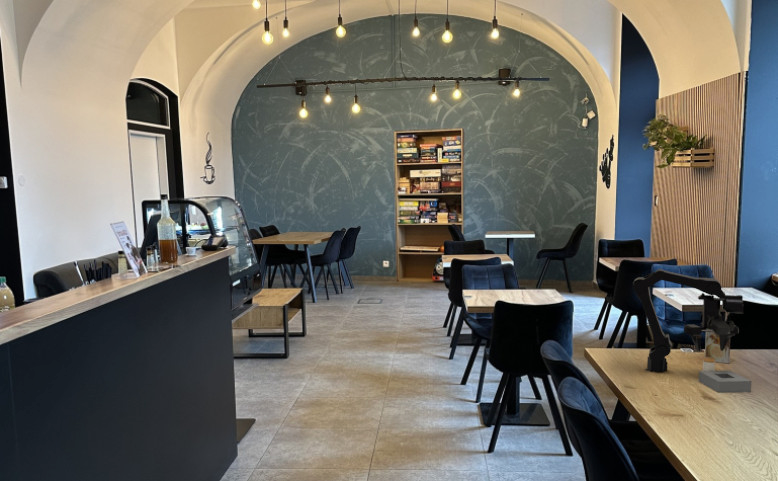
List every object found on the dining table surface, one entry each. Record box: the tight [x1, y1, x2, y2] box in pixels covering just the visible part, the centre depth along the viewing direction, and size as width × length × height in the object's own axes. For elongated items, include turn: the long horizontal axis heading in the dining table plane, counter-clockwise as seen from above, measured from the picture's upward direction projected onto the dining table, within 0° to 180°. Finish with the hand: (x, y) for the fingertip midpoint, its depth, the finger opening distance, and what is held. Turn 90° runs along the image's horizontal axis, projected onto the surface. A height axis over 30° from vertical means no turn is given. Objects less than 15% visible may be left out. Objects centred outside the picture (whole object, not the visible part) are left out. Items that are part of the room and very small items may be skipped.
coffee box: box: [704, 331, 731, 364], centre depth 241 cm, size 9×6×16 cm
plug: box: [702, 356, 716, 371], centre depth 218 cm, size 4×4×8 cm
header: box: [698, 370, 752, 394], centre depth 207 cm, size 12×12×5 cm
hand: (710, 350), depth 217 cm, fingers open, 9 cm apart
